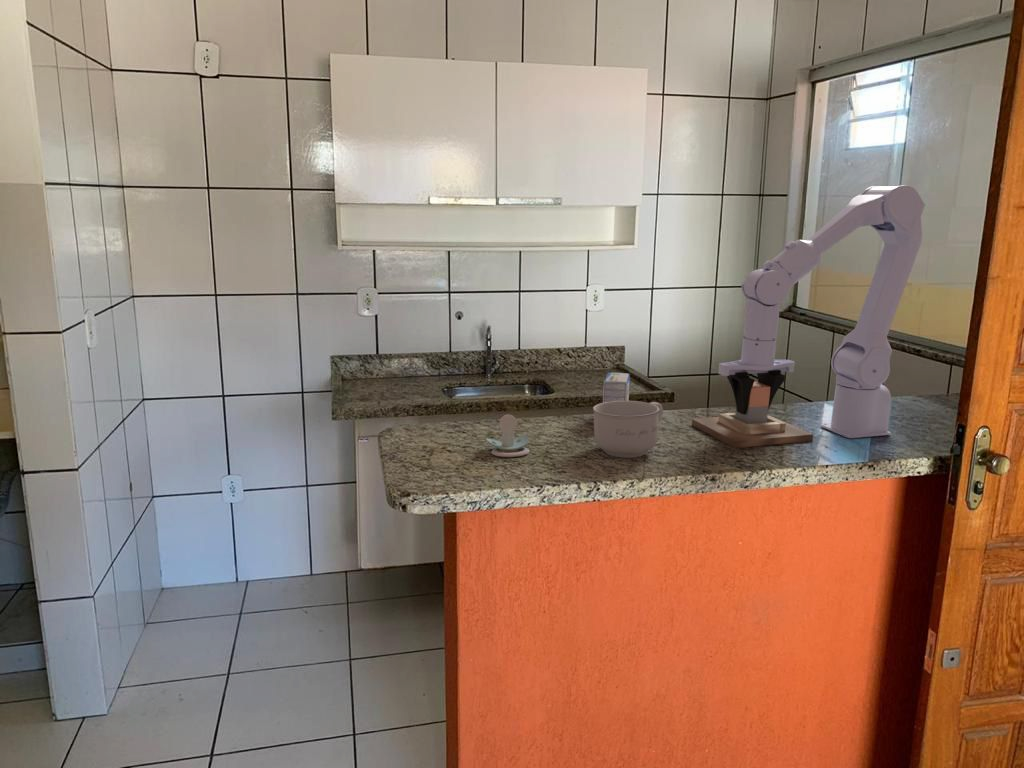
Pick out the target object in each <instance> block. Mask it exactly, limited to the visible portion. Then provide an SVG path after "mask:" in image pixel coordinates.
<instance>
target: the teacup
mask: <svg viewBox="0 0 1024 768" xmlns="http://www.w3.org/2000/svg"><path fill="white" fill-rule="evenodd" d="M592 412H593V433H594V440H595V443H596V445H597V446H598V447H599V448H600V449H601V450H603V451H604V453H606V454H607V455H609V456H612V457H615V458H622V459H624V458H629V459H630V458H638V457H641V456H644V455H646V454H647V453H648V452H649V451H651V450H652V449H653V448H654V447H655V445H656V444H657V440H658V435H659V425H660V423H661V421H662V419H663V417H664V409H663V406H662V404H661V403H660V402H657V401H651V402H645V401H639V400H638V401H637V400H629V401H610V402H604V403H603V402H601V403H598V404H596V405H594V406H593V407H592Z"/></svg>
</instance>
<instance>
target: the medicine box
mask: <svg viewBox="0 0 1024 768" xmlns="http://www.w3.org/2000/svg"><path fill="white" fill-rule="evenodd" d="M630 375H631V374H630V373H627V372H626V373H624V372H607V375H606V376H605V380H604V381H603V387H602V389H603V390H602V403H604V402H610V401H630V400H629V397H630V383H631V382H630V381H631V380H630V379H631V378H630V377H631V376H630Z"/></svg>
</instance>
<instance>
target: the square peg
mask: <svg viewBox="0 0 1024 768" xmlns="http://www.w3.org/2000/svg"><path fill="white" fill-rule="evenodd" d="M769 396H770V386H767V385H764V384H762V383H759V382H758V381H754V384H753V386H752V389H751V392H750V396H749V404H748V409H747V413H746V414H741V413H739V412H737V408H736V407H735V412H734V413H735V419H737V420H739V421H742V422H744V423H746V424H757V423H767V416H768V415H769V414H768V413H769V410H768V406H769Z"/></svg>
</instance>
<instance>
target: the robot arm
mask: <svg viewBox="0 0 1024 768" xmlns="http://www.w3.org/2000/svg"><path fill="white" fill-rule="evenodd" d="M925 206H926V203H925V201H924V200H923V199H922V196H921V195H920V194H919V192H918V191H917V189H915V188H914V187H913V186H910V185H907V184H903V185H897V186H895V185H894V186H881V185H879V186H878V185H872V186H869V187H867V188H866V189H864V190H863V191H862V192H861V193H860V194H857V195H856V196H854V197H853V198H852V199H851V200H850V201H849V203H847V205H846V206H845V207H844V208H843V209H842V210H840V211H839V212H838V213H837V214H836V215H834V216H833V217H832V219H830V220H829V221H828V222H827V223H826V224H824V225H823V226H822V227H821V228H820V229H819V230H818V231H816V232H815V233H814V234H813V235H812V236H811V237H810V238H809V239H807V240H805V239H796V241H788V242H787V243H786V244H785V245H784V248H785V249H784V250H783V251H781V252H780V253H779V254H778V255H776V256H775V257H774V258H773V259H772V260H766V261H765V262H764V263H763V264H762V265H763V268H760V269H755V270H753V271H750V273H748V275H747V276H746V277H745V280H744V283H742V284H741V292H742V294H743V296H744V297H745V299H746V301H745V304H746V305H745V312H744V322H743V331H742V345H741V354H740V359H739V360H738V359H737V360H735V361H734V360H733V361H728V362H720V363H718V370H717V371H718V373H717V374H718V375H720V376H722V377H726V378H727V379H728V383H729V384H730V386H731V389H732V392H733V397H734V400H735V409H736V408H737V412H739V413H741V414H746V413H747V409H748V404H749V396H750V392H751V389H752V386H753V384H754V382H756V381H755V379H754V378H751V377H750V375H749V374H756V375H757V382H759V383H762V384H764V385H767V386H770V396H769V406H768V411H769V410H770V407H771V404H772V402H773V400H774V398H775V396H776V394H777V392H778V390H779V389H780V387H781V386H782V385H783V383H784V382H785V380H786V375H785V374H782V373H784V372H786V373H794V372H795V366H796V365H795V363H796V361H793V360H790V359H775V358H776V350H777V349H776V348H777V338H778V330H779V321H780V320H779V319H780V308H781V302H783V301H785V299H786V298H787V296H788V294H789V291H790V289H791V288H792V287H793V286H794V285H795V284H796V283H798V282H799V281H800V280H802V279H803V278H805V276H807V275H808V274H810V273H811V272H812V271H813V270H814V269H816V267H818V266H819V265H820V263H821V262H820V261H821V257H822V254H824V253H825V252H827V251H828V250H829V249H831V248H832V247H834V246H835V245H837V244H838V243H839V242H840V241H842V240H843V239H845V238H846V237H847V236H849V235H850V234H852V233H853V232H854V231H856V230H858V229H859V228H861V227H869V226H870V227H871V228H873V230H875V231H876V232H877V234H878V235H879V238H880V239H881V240H882V241H883V243H884V245H883V249H882V251H881V253H880V256H879V260H878V263H877V265H876V268H875V271H874V274H873V277H872V280H871V282H870V285H869V287H868V291H867V294H866V297H865V299H864V303H863V304H862V308H861V311H860V313H859V316H858V319H857V322H856V324H855V327H854V329H853V330H851V331H850V332H848V333H847V334H846V335H845V336H844V337H843V339H842V342H841V344H840V345H839V347H838V348H837V349H836V350H835V351H834V353H832V357H831V361H830V365H831V368H832V371H833V372H834V373H835V374H836V376H835V389H834V397H833V406H832V411H831V412H832V413H831V414H832V415H831V422H827V423H820V424H819V427H820V428H823V429H825V430H828V431H831V432H832V433H835V434H838V435H840V436H842V437H845V438H848V439H858V438H868V437H870V438H871V437H879V436H880V437H881V436H890V435H891V431H889V429H888V428H889V422H890V415H891V408H892V407H891V406H892V394H891V391H890V389H888V388H887V386H885V385H883V384H884V383H885V382H886V381H887V379H888V378H889V375H890V373H891V364H890V363H891V362H890V360H891V355H892V353H893V350H892V346H891V345H890V342H889V340H888V335H889V332H890V330H891V326H892V323H893V322H894V318H895V316H896V313H897V310H898V307H899V305H900V302H901V300H902V299H901V298H902V296H903V294H904V290H905V288H906V285H907V282H908V279H909V277H910V275H911V272H912V268H913V266H914V264H915V261H916V257H917V255H918V252H919V249H920V247H921V244H922V240H923V233H922V229H923V228H922V214H923V211H924V209H925Z"/></svg>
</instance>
